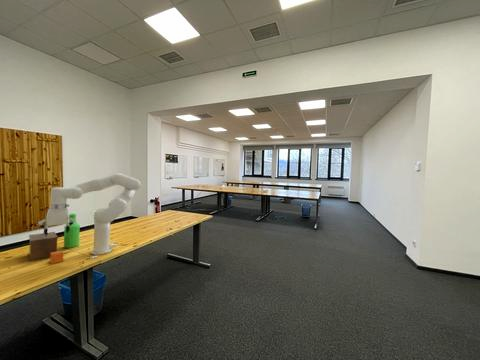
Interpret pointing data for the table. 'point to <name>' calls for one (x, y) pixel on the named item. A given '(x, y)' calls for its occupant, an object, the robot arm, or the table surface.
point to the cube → (56, 257)
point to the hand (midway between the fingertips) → (56, 233)
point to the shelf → (42, 245)
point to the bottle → (72, 233)
